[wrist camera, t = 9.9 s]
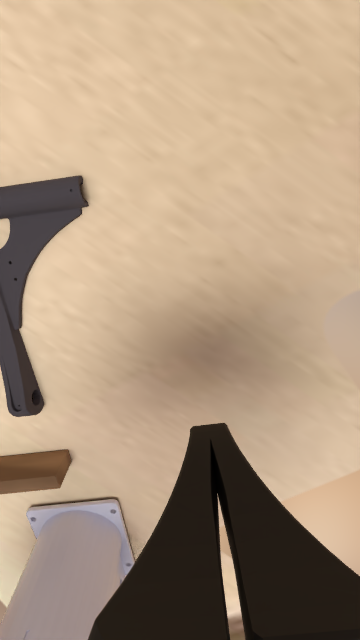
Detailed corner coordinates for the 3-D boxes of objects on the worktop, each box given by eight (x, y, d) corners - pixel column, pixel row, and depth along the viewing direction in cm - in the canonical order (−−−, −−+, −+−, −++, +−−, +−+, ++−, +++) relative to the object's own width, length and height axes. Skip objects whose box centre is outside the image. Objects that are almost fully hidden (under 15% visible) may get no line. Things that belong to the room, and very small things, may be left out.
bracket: (-49, 411, 23) (-78, 437, 20) (-146, 211, 18) (-201, 210, 15) (132, 389, 22) (126, 412, 20) (85, 177, 17) (69, 171, 15)
